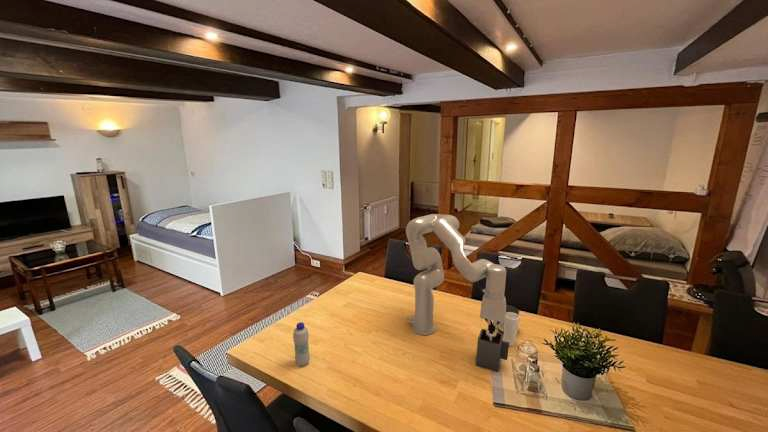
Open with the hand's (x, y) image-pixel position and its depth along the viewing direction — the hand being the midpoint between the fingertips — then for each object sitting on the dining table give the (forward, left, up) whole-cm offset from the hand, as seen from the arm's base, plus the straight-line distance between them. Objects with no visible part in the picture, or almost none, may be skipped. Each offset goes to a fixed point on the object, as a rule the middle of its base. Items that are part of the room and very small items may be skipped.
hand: (491, 331), depth 146 cm
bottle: (-75, -36, -16) cm, 85 cm away
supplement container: (+5, +30, -16) cm, 34 cm away
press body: (+1, 0, -15) cm, 15 cm away
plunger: (0, 0, -12) cm, 12 cm away
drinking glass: (+7, +19, -16) cm, 26 cm away
